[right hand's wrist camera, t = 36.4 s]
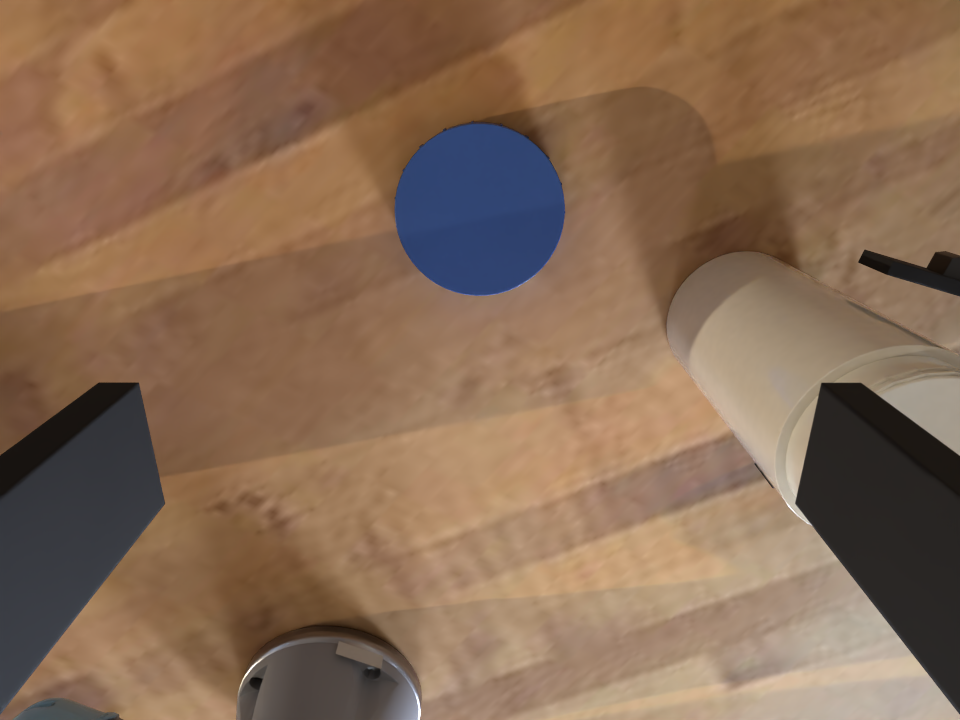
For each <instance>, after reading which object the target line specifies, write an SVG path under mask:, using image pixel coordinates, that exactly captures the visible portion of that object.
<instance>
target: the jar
mask: <svg viewBox="0 0 960 720" xmlns="http://www.w3.org/2000/svg"><path fill="white" fill-rule="evenodd" d="M667 337H668V342H669V345H670V348H671V350H672V352H673V354H674V356H675V357H676V359H677V360H678V362H679V363H680V364H681V366H682V367H683V368H684V370H685V371H686V372H687V374H688V375H689V376H690V378H691V379H692V380H693V382H694V383H695V384H696V385H697V387H698V388H699V389H700V391H701V392H702V393H703V395H704V396H705V397H706V399H707V400H708V401H709V403H710V404H711V405H712V406H713V408H714V409H715V410H716V412H717V413H718V414H719V416H720V417H721V418H722V420H723V421H724V422H725V424H726V425H727V426H728V428H729V429H730V430H731V431H732V433H733V434H734V435H735V437H736V438H737V439H738V441H739V442H740V443H741V445H742V446H743V447H744V449H745V450H746V451H747V452H748V454H749V455H750V456H751V458H752V459H753V460H754V462H755V463H756V464H757V466H758V467H759V468H760V470H761V471H762V472H763V473H764V475H765V476H766V477H767V479H768V480H769V481H770V483H771V484H772V485H773V487H774V488H775V489H776V491H777V492H778V493H779V495H780V496H781V497H782V498H783V500H784V501H785V502H786V504H787V505H788V506H789V508H790V509H791V510H792V511H793V512H794V513H795V514H796V515H797V516H798V517H800V518H801V519H802V520H804V521H805V522H806V523H808V524H810V522H809V521H808V520H807V518H806V517H805V516H804V515H803V513H802V512H801V511H800V509H799V508H798V507H797V506H796V504H795V501H796V496H797V492H798V487H799V483H800V478H801V473H802V469H803V464H804V460H805V455H806V451H807V446H808V441H809V437H810V432H811V428H812V423H813V418H814V414H815V409H816V405H817V400H818V395H819V391H820V386H821V383H862V384H864V385H865V386H866V387H868V388H869V389H870V390H872V391H873V392H874V393H876V394H877V395H878V396H880V397H881V398H883V399H884V400H885V401H887V402H888V403H889V404H891V405H892V406H893V407H895V408H896V409H897V410H899V411H900V412H901V413H903V414H904V415H906V416H907V417H908V418H910V419H911V420H912V421H914V422H915V423H916V424H918V425H919V426H920V427H922V428H923V429H924V430H926V431H927V432H929V433H930V434H931V435H933V436H934V437H935V438H937V439H938V440H939V441H941V442H942V443H943V444H945V445H946V446H947V447H949V448H950V449H952V450H953V451H954V452H956V453H957V454H958V455H960V355H959V354H957V353H955V352H953V351H951V350H949V349H948V348H946V347H944V346H942V345H940V344H938V343H936V342H934V341H932V340H931V339H929V338H927V337H925V336H923V335H921V334H919V333H917V332H915V331H914V330H912V329H910V328H908V327H906V326H904V325H902V324H900V323H898V322H897V321H895V320H893V319H891V318H889V317H887V316H885V315H883V314H881V313H880V312H878V311H876V310H874V309H872V308H870V307H868V306H866V305H864V304H863V303H861V302H859V301H857V300H855V299H853V298H851V297H849V296H847V295H846V294H844V293H842V292H840V291H838V290H836V289H834V288H832V287H830V286H829V285H827V284H825V283H823V282H821V281H819V280H817V279H815V278H813V277H812V276H810V275H808V274H806V273H804V272H802V271H800V270H798V269H796V268H795V267H793V266H791V265H789V264H787V263H785V262H783V261H781V260H779V259H777V258H775V257H773V256H771V255H768V254H764V253H760V252H753V251H741V252H733V253H729V254H725V255H722V256H719V257H717V258H714V259H712V260H710V261H708V262H707V263H705V264H703V265H702V266H700V267H699V268H698V269H696V270H695V271H694V272H693V273H692V274H691V275H690V276H689V277H688V278H687V279H686V280H685V281H684V282H683V283H682V285H681V286H680V288H679V289H678V290H677V292H676V294H675V296H674V298H673V300H672V302H671V305H670V308H669V312H668V316H667ZM810 525H811V524H810ZM813 528H814V527H813Z"/></svg>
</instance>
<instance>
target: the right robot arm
mask: <svg viewBox="0 0 960 720" xmlns="http://www.w3.org/2000/svg"><path fill="white" fill-rule="evenodd" d="M164 504H165V501H164V496H163V492H162V487H161V483H160V478H159V473H158V469H157V464H156V460H155V455H154V451H153V446H152V441H151V437H150V432H149V428H148V423H147V418H146V414H145V409H144V405H143V400H142V395H141V391H140V386H139V383H98V384H96V385H95V386H94V387H92V388H91V389H90V390H88V391H87V392H86V393H84V394H83V395H82V396H80V397H79V398H77V399H76V400H75V401H73V402H72V403H71V404H69V405H68V406H67V407H65V408H64V409H63V410H61V411H60V412H59V413H57V414H56V415H54V416H53V417H52V418H50V419H49V420H48V421H46V422H45V423H44V424H42V425H41V426H40V427H38V428H37V429H36V430H34V431H33V432H31V433H30V434H29V435H27V436H26V437H25V438H23V439H22V440H21V441H19V442H18V443H17V444H15V445H14V446H13V447H11V448H10V449H8V450H7V451H6V452H4V453H3V454H2V455H0V714H1V713H2V711H3V710H4V709H5V708H6V706H7V705H8V704H9V703H10V701H11V700H12V699H13V697H14V696H15V695H16V694H17V692H18V691H19V690H20V688H21V687H22V686H23V685H24V683H25V682H26V681H27V679H28V678H29V677H30V676H31V674H32V673H33V672H34V671H35V669H36V668H37V667H38V665H39V664H40V663H41V662H42V660H43V659H44V658H45V656H46V655H47V654H48V653H49V651H50V650H51V649H52V648H53V646H54V645H55V644H56V642H57V641H58V640H59V639H60V637H61V636H62V635H63V633H64V632H65V631H66V630H67V628H68V627H69V626H70V625H71V623H72V622H73V621H74V619H75V618H76V617H77V616H78V614H79V613H80V612H81V610H82V609H83V608H84V607H85V605H86V604H87V603H88V601H89V600H90V599H91V598H92V596H93V595H94V594H95V593H96V591H97V590H98V589H99V587H100V586H101V585H102V584H103V582H104V581H105V580H106V578H107V577H108V576H109V575H110V573H111V572H112V571H113V570H114V568H115V567H116V566H117V564H118V563H119V562H120V561H121V559H122V558H123V557H124V555H125V554H126V553H127V552H128V550H129V549H130V548H131V547H132V545H133V544H134V543H135V541H136V540H137V539H138V538H139V536H140V535H141V534H142V532H143V531H144V530H145V529H146V527H147V526H148V525H149V524H150V522H151V521H152V520H153V518H154V517H155V516H156V515H157V513H158V512H159V511H160V509H161V508H162V507H163V506H164ZM795 504H796V506H797V507H798V508H799V509H800V511H801V512H802V513H803V515H804V516H805V517H806V518H807V520H808V521H809V522H810V524H811V525H812V526H813V527H814V529H815V530H816V531H817V532H818V534H819V535H820V536H821V538H822V539H823V540H824V541H825V543H826V544H827V545H828V547H829V548H830V549H831V550H832V552H833V553H834V554H835V555H836V557H837V558H838V559H839V561H840V562H841V563H842V564H843V566H844V567H845V568H846V570H847V571H848V572H849V573H850V575H851V576H852V577H853V578H854V580H855V581H856V582H857V584H858V585H859V586H860V587H861V589H862V590H863V591H864V593H865V594H866V595H867V596H868V598H869V599H870V600H871V602H872V603H873V604H874V605H875V607H876V608H877V609H878V610H879V612H880V613H881V614H882V616H883V617H884V618H885V619H886V621H887V622H888V623H889V625H890V626H891V627H892V628H893V630H894V631H895V632H896V633H897V635H898V636H899V637H900V639H901V640H902V641H903V642H904V644H905V645H906V646H907V648H908V649H909V650H910V651H911V653H912V654H913V655H914V656H915V658H916V659H917V660H918V662H919V663H920V664H921V665H922V667H923V668H924V669H925V671H926V672H927V673H928V674H929V676H930V677H931V678H932V679H933V681H934V682H935V683H936V685H937V686H938V687H939V688H940V690H941V691H942V692H943V694H944V695H945V696H946V697H947V699H948V700H949V701H950V703H951V704H952V705H953V706H954V708H955V709H956V710H957V711H958V713H959V714H960V455H958V454H957V453H956V452H954V451H953V450H952V449H950V448H949V447H947V446H946V445H945V444H943V443H942V442H941V441H939V440H938V439H937V438H935V437H934V436H933V435H931V434H930V433H929V432H927V431H926V430H924V429H923V428H922V427H920V426H919V425H918V424H916V423H915V422H914V421H912V420H911V419H910V418H908V417H907V416H906V415H904V414H903V413H901V412H900V411H899V410H897V409H896V408H895V407H893V406H892V405H891V404H889V403H888V402H887V401H885V400H884V399H883V398H881V397H880V396H878V395H877V394H876V393H874V392H873V391H872V390H870V389H869V388H868V387H866V386H865V385H864V384H862V383H821V386H820V391H819V395H818V400H817V405H816V409H815V414H814V418H813V423H812V428H811V432H810V437H809V441H808V446H807V451H806V455H805V460H804V464H803V469H802V473H801V478H800V483H799V487H798V492H797V496H796V501H795ZM420 709H421V686H420V683H419V680H418V677H417V675H416V673H415V671H414V669H413V668H412V666H411V665H410V663H409V662H408V661H407V660H406V659H405V657H404V656H403V655H402V654H400V653H399V652H398V651H397V650H396V649H395V648H393V647H392V646H391V645H389V644H387V643H386V642H384V641H382V640H380V639H379V638H377V637H374V636H372V635H370V634H367V633H364V632H361V631H358V630H354V629H349V628H343V627H334V626H316V627H308V628H302V629H298V630H294V631H291V632H288V633H285V634H283V635H281V636H279V637H277V638H275V639H273V640H272V641H270V642H268V643H267V644H266V645H265V646H263V647H262V648H261V649H260V650H259V651H258V652H257V653H256V655H255V656H254V657H253V658H252V660H251V662H250V664H249V666H248V668H247V670H246V673H245V675H244V678H243V680H242V683H241V685H240V688H239V692H238V699H237V718H236V720H419V719H420ZM13 720H123V719H121V718H119V714H117V713H114V712H107V713H104V712H101V711H98V710H95V709H93V708H90V707H87V706H85V705H82V704H79V703H77V702H74V701H71V700H69V699H65V698H49V699H45V700H42V701H40V702H37V703H35V704H33V705H31V706H30V707H28V708H27V709H25V710H24V711H23V712H21V713H20V714H19V715H18V716H16V717H15V718H14V719H13Z"/></svg>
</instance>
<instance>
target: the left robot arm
mask: <svg viewBox="0 0 960 720" xmlns="http://www.w3.org/2000/svg"><path fill="white" fill-rule="evenodd" d="M858 263H861V264H863V265H865V266H868V267H870V268H872V269H875V270H877V271H879V272H882V273H884V274H886V275H890V276H893V277H897V278H900V279H903V280H907V281H910V282H913V283H917V284H920V285H923V286H927V287H930V288H934V289H937V290H940V291H944V292H947V293H950V294H954V295H957V296H960V256H959V255H956V254H953V253H950V252H946V251H943V252H935V254H934V256H933V258H932V259H931V261H930V263H929V265H928V267H927V268H924V267H921V266H917V265H914V264H911V263H907V262H904V261H901V260H898V259H894V258H891V257H888V256H884V255H881V254H878V253H874V252H871V251H868V250H864V252H863V254H862V256H861V258H860V260H859V262H858ZM755 465H756V467H757V468H758V469H759V471H760V472H761V473H762V475H763V476H764V477H765V479H766V480H767V481H768V483H769V484H770V485H771V487H772V488H774V487H773V485H772V484H771V483H770V481H769V480H768V479H767V477H766V476H765V475H764V473H763V472H762V471H761V470H760V468H759V467H758V466H757V464H756V463H755Z"/></svg>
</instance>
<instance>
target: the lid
mask: <svg viewBox="0 0 960 720" xmlns="http://www.w3.org/2000/svg"><path fill="white" fill-rule="evenodd" d="M528 138H529V137H528V136H526V135H525V136H524V135H522V134H520V133H519V132H517V131H515V130H513V129H511V128H508V127H506V126H503V125H502V124H501V123H500V125H499V124H495V123H487V122H474V121H472V122H471V123H465V124H460V125H457V126H454V127H451V128H449V129H446V128H445V129H444V130H443V131H442V132H440V133H439V134H437V135H436V136H434V137H433V138H431V139H430V140H429V141H427V142H426V143H425V144H424V145H423V144H422V145H421V146H420V147H419V148H420V149H419V150H418V151H417V152H416V153H415V154H414V155H413V157H412V158H411V160H410V161H409V163H408V164H407V166H406V167H405V168H404V169H403V174H402V176H401V178H400V181H399V184H398V187H397V192H396V197H395V222H396V227H397V231H398V235H399V238H400V241H401V243H402V245H403V247H404V249H405V251H406V253H407V255H408V256H409V258H410V259H411V261H412V262H413V263H414V265H415V266H416V267H417V268H418V269H419V270H420V271H421V272H422V273H423V274H424V275H425V276H426V277H427V278H429V279H430V280H432V281H433V282H435V283H436V284H438V285H440V286H442V287H444V288H446V289H448V290H451V291H454V292H457V293H461V294H466V295H475V296H482V295H493V294H498V293H502V292H506V291H509V290H511V289H513V288H516V287H518V286H520V285H521V284H523V283H525V282H526V281H528V280H529V279H530V278H532V277H533V276H534V275H536V274H537V273H538V272H539V271H540V270H541V269H542V268H543V266H544V265H545V264H546V263H547V261H548V260H549V259H550V257H551V255H552V254H553V252H554V250H555V248H556V246H557V244H558V242H559V239H560V236H561V232H562V229H563V223H564V213H565V204H564V195H563V191H562V186H561V185H562V183H561V182H560V180H559V178H558V175H557V173H556V171H555V169H554V167H553V165H552V163H551V162H550V160H549V159H550V158H549V157H548V156H547V155H545V154H544V153H543V152H542V151H541V149H540V148H539V147H538V146H537V145H536V144H534V143H533V142H532V141H530V140H529V139H528Z"/></svg>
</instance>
